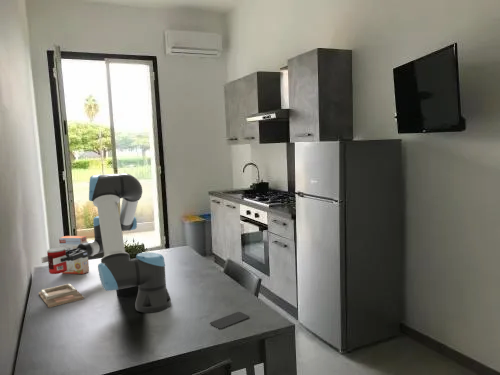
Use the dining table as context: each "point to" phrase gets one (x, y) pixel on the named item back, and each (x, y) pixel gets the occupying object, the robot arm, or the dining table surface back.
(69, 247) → the cracker box
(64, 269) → the canned food
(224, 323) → the phone
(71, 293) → the board
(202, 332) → the dining table surface
